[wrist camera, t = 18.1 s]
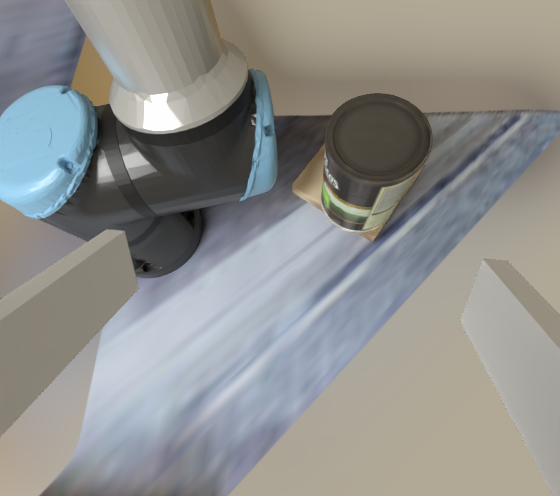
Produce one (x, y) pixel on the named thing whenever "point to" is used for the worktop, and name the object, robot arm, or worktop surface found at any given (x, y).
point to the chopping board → (311, 187)
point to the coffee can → (371, 159)
